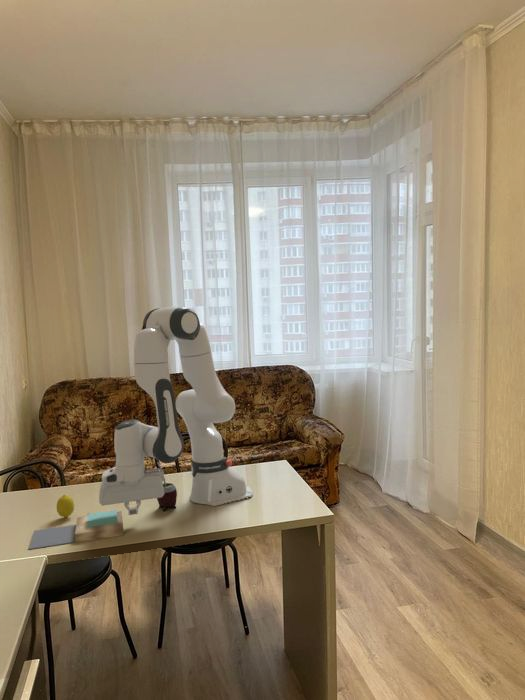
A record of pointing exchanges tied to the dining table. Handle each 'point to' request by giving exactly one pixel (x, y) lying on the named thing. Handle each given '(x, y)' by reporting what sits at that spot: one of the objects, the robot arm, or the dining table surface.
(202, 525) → the dining table surface
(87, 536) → the deck
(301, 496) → the dining table surface
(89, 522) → the turquoise sponge
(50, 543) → the mat
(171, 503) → the mate gourd
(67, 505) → the lemon
